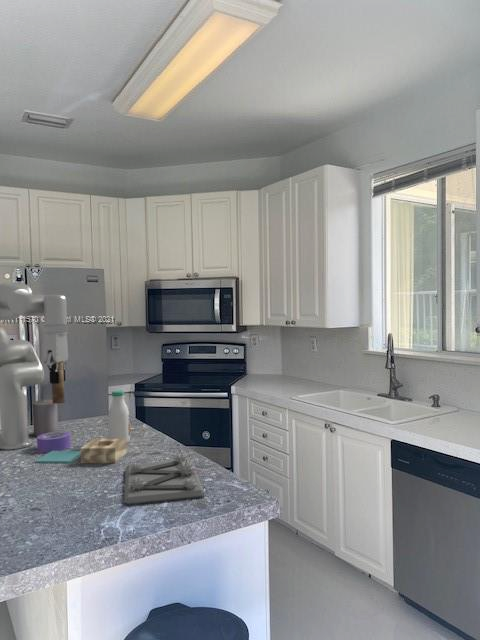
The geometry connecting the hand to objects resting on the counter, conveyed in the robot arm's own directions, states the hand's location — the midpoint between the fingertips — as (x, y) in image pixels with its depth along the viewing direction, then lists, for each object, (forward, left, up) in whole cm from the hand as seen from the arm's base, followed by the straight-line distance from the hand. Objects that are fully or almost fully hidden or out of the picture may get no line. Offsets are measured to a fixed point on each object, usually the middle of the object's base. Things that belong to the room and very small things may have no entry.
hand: (57, 381), depth 175 cm
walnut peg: (0, 0, -7) cm, 7 cm away
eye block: (+16, 0, -27) cm, 31 cm away
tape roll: (-8, +12, -27) cm, 31 cm away
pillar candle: (-21, +32, -27) cm, 47 cm away
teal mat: (0, 0, -27) cm, 27 cm away
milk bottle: (+15, +19, -27) cm, 36 cm away
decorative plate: (+42, -24, -28) cm, 56 cm away
